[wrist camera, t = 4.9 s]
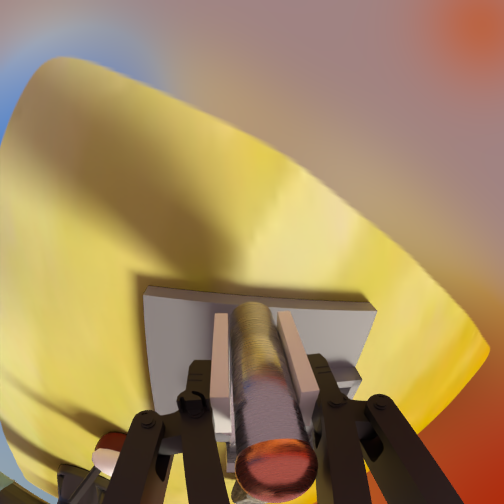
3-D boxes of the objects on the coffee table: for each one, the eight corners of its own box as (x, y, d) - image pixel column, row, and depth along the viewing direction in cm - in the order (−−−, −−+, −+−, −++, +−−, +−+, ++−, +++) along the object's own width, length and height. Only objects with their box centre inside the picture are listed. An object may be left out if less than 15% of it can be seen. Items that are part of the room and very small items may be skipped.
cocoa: (156, 436, 27) (150, 518, 15) (150, 457, 28) (146, 527, 17) (84, 414, 24) (60, 491, 13) (86, 437, 26) (69, 505, 15)
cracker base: (161, 425, 25) (157, 448, 22) (148, 285, 20) (136, 307, 17) (315, 429, 28) (322, 449, 24) (369, 302, 22) (387, 322, 19)
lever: (215, 452, 23) (219, 551, 11) (217, 298, 17) (215, 490, 5) (258, 452, 23) (272, 548, 12) (288, 301, 17) (358, 473, 6)
